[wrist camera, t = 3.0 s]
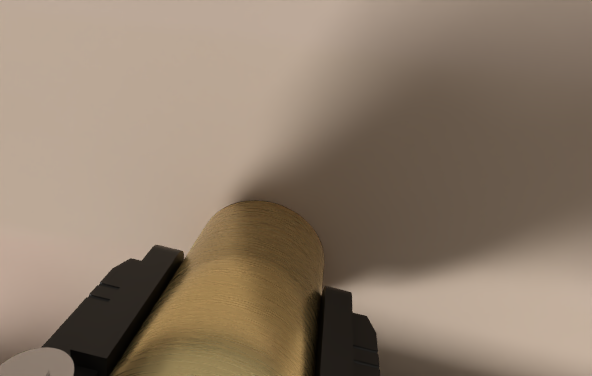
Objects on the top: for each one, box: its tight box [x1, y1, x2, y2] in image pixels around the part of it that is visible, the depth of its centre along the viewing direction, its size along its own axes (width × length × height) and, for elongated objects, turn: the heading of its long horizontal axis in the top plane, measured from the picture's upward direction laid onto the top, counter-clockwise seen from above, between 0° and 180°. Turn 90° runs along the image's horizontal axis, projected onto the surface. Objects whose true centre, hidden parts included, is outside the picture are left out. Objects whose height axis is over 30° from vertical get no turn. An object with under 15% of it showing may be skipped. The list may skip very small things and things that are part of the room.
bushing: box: [109, 201, 324, 376], centre depth 8 cm, size 4×4×8 cm
